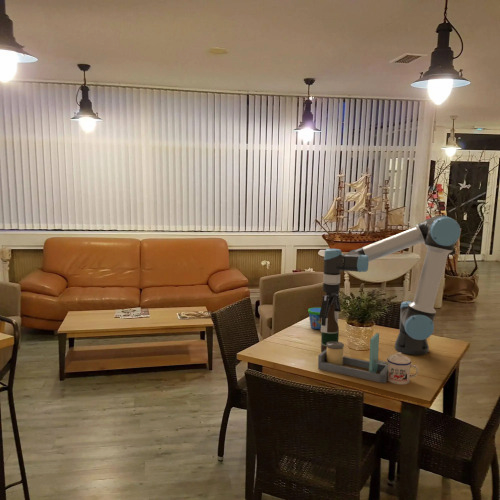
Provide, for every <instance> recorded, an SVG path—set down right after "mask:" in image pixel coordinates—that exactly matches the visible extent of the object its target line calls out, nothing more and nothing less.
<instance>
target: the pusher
mask: <svg viewBox="0 0 500 500" xmlns="http://www.w3.org/2000/svg"><path fill="white" fill-rule="evenodd" d="M379 342H380V333H379V332H377V333H375V334H374V335H373V336H372V337H371V338H370V339H369V360H368V361H369V369H368V371H369V372H373V373H377V372H379V371H378V363H380V364H385V365H387V364H388V361H385V360H380V359H379V345H380V343H379Z"/></svg>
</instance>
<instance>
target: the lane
mask: <svg viewBox="0 0 500 500" xmlns="http://www.w3.org/2000/svg"><path fill="white" fill-rule="evenodd" d="M326 353H327V349H326V350H324V351H323V352H320V353H319V354H318V359H317V362H318V364H317V368H318V370H322V371H327V372H330V373H331V372H332V373H335V374H342V375H345V376H350V377H353V378H354V377H355V378H359V379H364V380H368V381H373V382H377V383H380V384H381V383H382V384H386V383H387V381H388V380H387V379H388V370H387V365H385V364H380V363H378V371H377V372H379V373H377V372H376V373H373V372H369V360H364V359H359V358H354V357H348V356H345V355H343V366H340V365H335V364H331V363H326ZM344 365H347V366H344ZM348 366H352V367H348ZM353 366H354V367H353ZM355 367H356V368H355ZM357 368H362V369H357ZM363 369H367V370H368V371H367V370H363Z"/></svg>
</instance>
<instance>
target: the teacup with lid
mask: <svg viewBox="0 0 500 500" xmlns="http://www.w3.org/2000/svg"><path fill="white" fill-rule="evenodd" d="M386 360H387V361H386V362H388V364H387V370H388V379H387V381H388V382H389V383H391V384H394V385H407V384H409V383H410V380H411V379H410V378H415V377H416V376H417V375H418V374H419V367H418V366H417V365H415V364H412V360H411V358H410V357H408V356H405V354H403V353H402V352H399V351H397V352H396V353H394V354H391V355H388V357H387V358H386ZM411 367H412V368H415V369H416V372H415V373H414V374H411Z"/></svg>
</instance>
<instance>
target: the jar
mask: <svg viewBox="0 0 500 500" xmlns="http://www.w3.org/2000/svg"><path fill="white" fill-rule="evenodd" d="M344 345H345V343H344V342H341V341H338V342H337V341H330V342H327V345H326V346H327V353H326V363H331V364H335V365H340V366H344V364H343V356H344V347H345V346H344Z"/></svg>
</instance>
